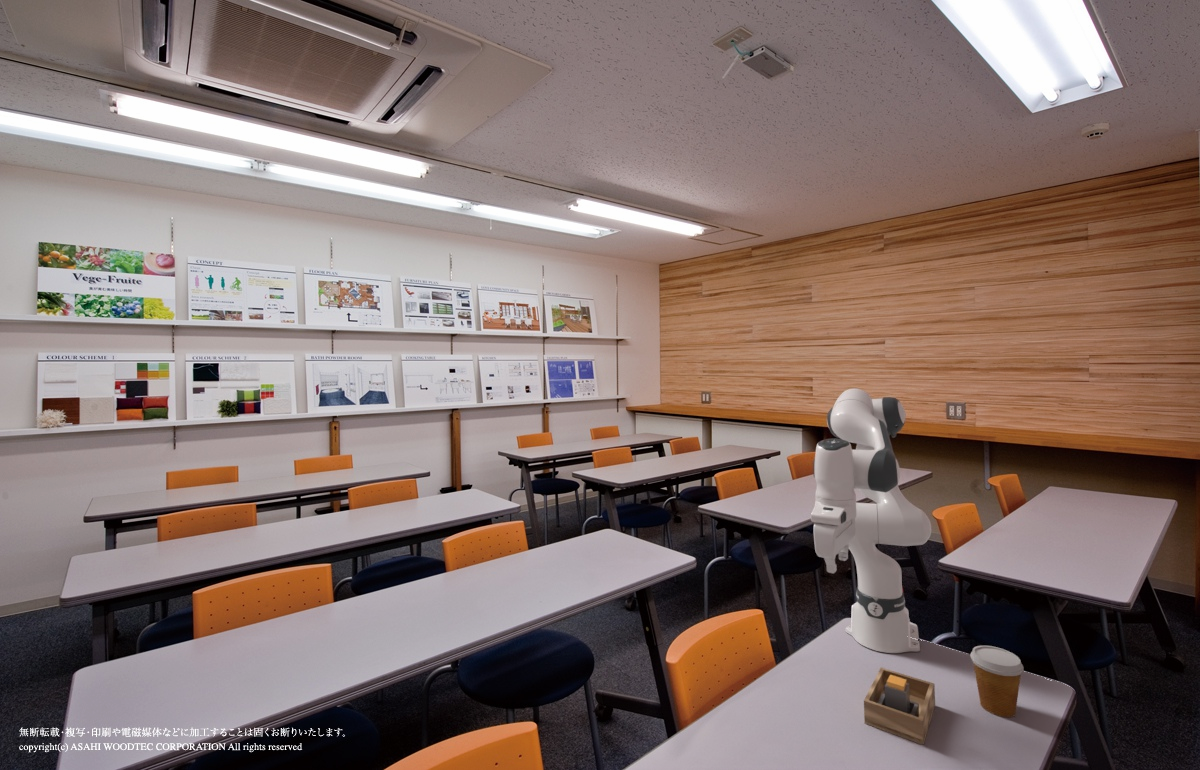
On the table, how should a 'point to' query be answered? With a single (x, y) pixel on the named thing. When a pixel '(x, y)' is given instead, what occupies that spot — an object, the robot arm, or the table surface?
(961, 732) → the table surface
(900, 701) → the block
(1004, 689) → the disposable coffee cup
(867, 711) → the box
